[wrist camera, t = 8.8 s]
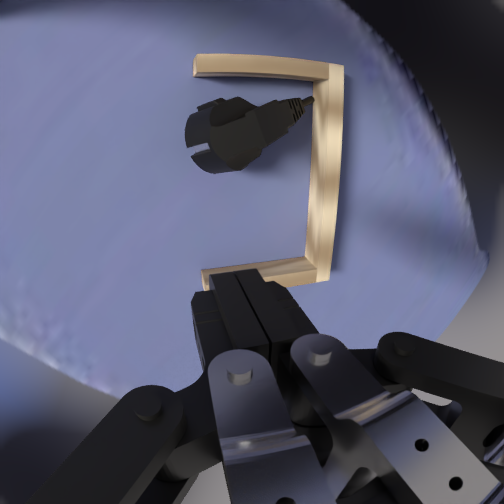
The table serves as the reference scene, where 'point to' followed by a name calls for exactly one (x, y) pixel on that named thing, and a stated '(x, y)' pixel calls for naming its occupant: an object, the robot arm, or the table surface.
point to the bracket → (322, 158)
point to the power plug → (238, 130)
